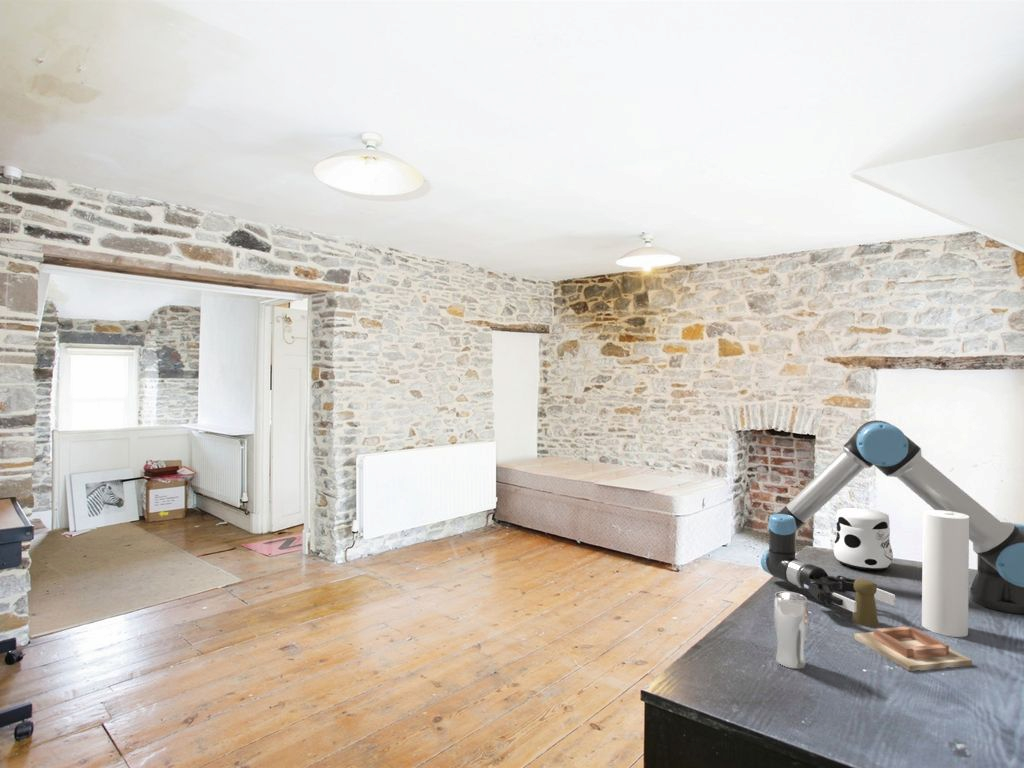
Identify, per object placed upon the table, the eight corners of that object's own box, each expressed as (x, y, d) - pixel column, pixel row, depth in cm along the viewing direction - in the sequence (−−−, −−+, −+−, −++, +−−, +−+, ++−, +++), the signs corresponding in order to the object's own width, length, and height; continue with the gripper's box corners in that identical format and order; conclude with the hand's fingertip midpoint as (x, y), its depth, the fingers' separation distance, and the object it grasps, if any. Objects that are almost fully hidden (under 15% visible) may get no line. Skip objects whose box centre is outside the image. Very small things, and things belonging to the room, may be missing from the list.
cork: (876, 619, 151) (876, 578, 151) (880, 628, 145) (880, 585, 145) (850, 615, 153) (850, 575, 153) (853, 624, 148) (853, 582, 148)
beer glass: (794, 673, 124) (794, 604, 123) (766, 659, 130) (766, 594, 130) (814, 665, 127) (814, 598, 127) (786, 652, 133) (787, 588, 133)
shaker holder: (910, 633, 142) (910, 620, 142) (971, 665, 127) (971, 651, 127) (854, 638, 140) (854, 625, 140) (909, 671, 124) (909, 657, 124)
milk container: (904, 574, 186) (905, 519, 185) (851, 574, 186) (851, 519, 186) (872, 557, 203) (872, 507, 203) (823, 557, 203) (823, 507, 203)
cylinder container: (976, 638, 140) (978, 517, 139) (934, 635, 141) (935, 515, 141) (954, 622, 149) (955, 508, 149) (914, 619, 151) (915, 507, 150)
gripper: (839, 584, 171) (909, 611, 151) (774, 594, 163) (838, 625, 143) (839, 559, 171) (909, 583, 151) (774, 568, 163) (838, 595, 142)
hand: (875, 603), depth 147 cm, fingers open, 13 cm apart
